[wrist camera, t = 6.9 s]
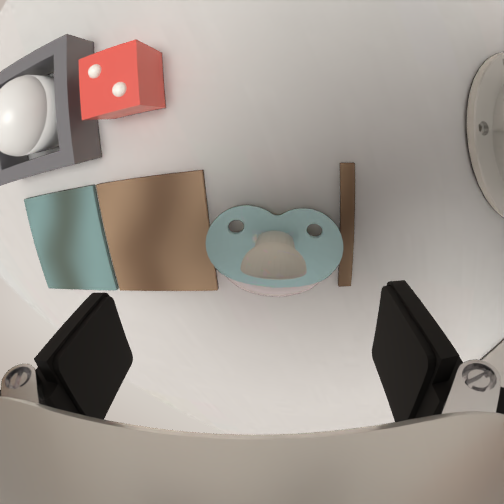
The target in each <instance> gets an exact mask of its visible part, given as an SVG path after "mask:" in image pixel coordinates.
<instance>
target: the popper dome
mask: <svg viewBox="0 0 504 504" xmlns="http://www.w3.org/2000/svg"><path fill="white" fill-rule="evenodd" d="M58 146H59V141H58V131H57V121H56V109H55V91H54V77H52V76H40V75H23V76H20V77H17V78H15V79H13V80H11V81H9V82H8V83H6V84H5V85H4V86H3V87H2V88H1V89H0V151H1V152H2V153H4V154H7V155H10V156H24V155H28V154H32V153H36V152H41V151H45V150H50V149H53V148H56V147H58Z"/></svg>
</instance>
